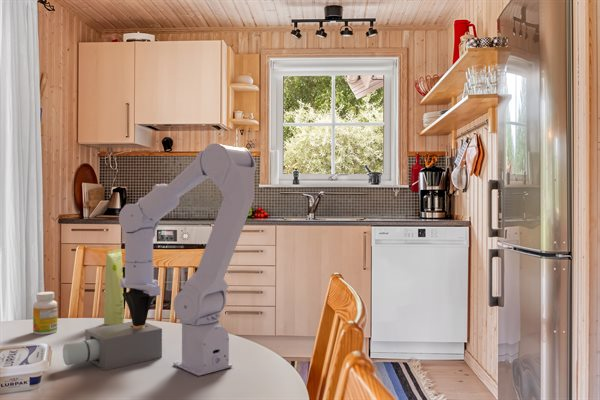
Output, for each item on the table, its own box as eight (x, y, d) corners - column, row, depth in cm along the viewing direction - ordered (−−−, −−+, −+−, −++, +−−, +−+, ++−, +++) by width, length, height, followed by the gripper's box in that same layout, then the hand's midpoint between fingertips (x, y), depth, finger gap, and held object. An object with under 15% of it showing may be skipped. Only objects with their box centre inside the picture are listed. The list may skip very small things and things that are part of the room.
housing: (139, 347, 116) (139, 320, 116) (161, 357, 109) (161, 328, 109) (85, 358, 108) (85, 329, 108) (105, 370, 101) (105, 339, 101)
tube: (126, 324, 137) (126, 250, 137) (106, 327, 134) (106, 251, 134) (121, 320, 142) (121, 248, 141) (101, 322, 139) (101, 249, 139)
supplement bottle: (33, 330, 130) (33, 291, 130) (57, 328, 133) (57, 290, 133) (32, 336, 125) (32, 295, 125) (57, 333, 128) (57, 293, 128)
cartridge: (126, 349, 111) (126, 330, 111) (135, 354, 108) (135, 334, 108) (62, 362, 102) (62, 342, 102) (70, 367, 99) (70, 346, 99)
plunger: (141, 337, 112) (141, 323, 112) (147, 340, 111) (147, 325, 111) (131, 339, 111) (131, 324, 111) (136, 342, 109) (136, 326, 109)
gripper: (173, 262, 108) (173, 328, 108) (140, 256, 119) (140, 316, 119) (141, 265, 103) (141, 334, 103) (110, 259, 114) (110, 321, 114)
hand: (139, 325), depth 111 cm, fingers closed, pressing on plunger
